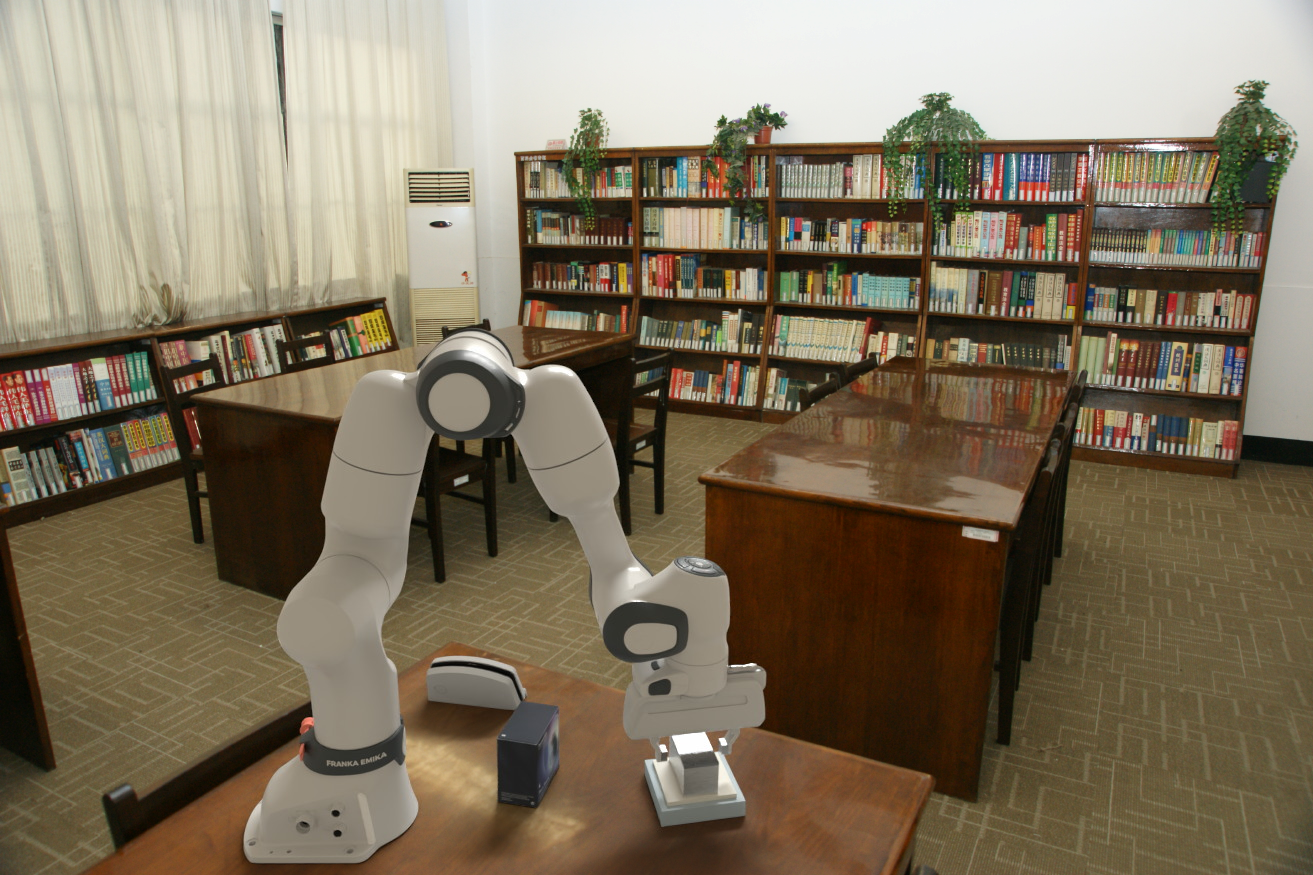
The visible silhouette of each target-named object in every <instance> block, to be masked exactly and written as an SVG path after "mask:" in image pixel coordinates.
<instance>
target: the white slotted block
mask: <svg viewBox="0 0 1313 875" xmlns="http://www.w3.org/2000/svg"><path fill="white" fill-rule="evenodd" d="M425 682H426V684H425V685H426V692H427V700H428V701H430V702H439V703H446V704H447V703H448V704H456V705H464V706H465V705H466V706H472V707H473V706H474V707H482V708H490V709H491V708H492V709H498V710H508V711H515V710H516V708H517V707H518V705H519V704H520V702H521V701H526V697H528V692H527V688H525V687H523V685H522V682H521V679H520V676H519V674H518V671H517V669H516V668H515V667H514V666H512V665H510V664H506V663H504V662H500V661H497V660H494V659H489V658H485V657H478V656H469V655H450V656H439V657H435V658H434V659H433V661H431V663H430V665H429V668H428V669H427V670H426V674H425Z"/></svg>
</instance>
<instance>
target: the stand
mask: <svg viewBox="0 0 1313 875" xmlns="http://www.w3.org/2000/svg"><path fill="white" fill-rule="evenodd" d="M714 753H715V755H716V757H717V759H718V762H719V777H718V794H712V795H704V796H696V797H688V798H683V796H682V793H681V791H680V788H679V785H678V783H677V780H676V777H675V775H674V772H673V769H672V767H671V764H670V762H669V756H667V761H665V762H657V761H656V758H651V759H650V758H649V759H645V760H644V774H643V775H644V777H645V781H646V782H647V786H648V790H649V792H650V795H651V798H652V801H653V803H654V804H653V805H654V807H655V810H656V813H657V817H658V820H659V824H660V826H661V827H662V828H664V827H670V826H678V825H685V824H691V823H693V824H694V823H700V822H707V821H716V820H721V819H729V818H738V817H745V816H746V804H747V803H746V802H747V801H746V799H745V797H744V794H743V792H742V790H741V788H740V786H739V784H738V782H737V779H736V778H735V776H734V773H733V772H732V769H731V767H730V765H729V763H728V761H727V758H726V757H725V755H721V754H720V752H719V750H718V751H714Z"/></svg>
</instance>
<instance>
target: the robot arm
mask: <svg viewBox="0 0 1313 875" xmlns="http://www.w3.org/2000/svg"><path fill="white" fill-rule="evenodd" d="M593 401H594V400H593V399H592V397H591V395H590V394H589V392H588V391H587V388H586V386H584V383H583V382H582V380H581V379H580V377H579V375H577V373H576V372H575V371H573V370H572V369H571V368H569V367H567V366H563V365H560V364H545V365H544V364H543V365H540V366H536V367H534V368H532V369H521V368H519V367H517V366H515V361H514V358H513V355H512V352H511V351H510V348H509V347H508V345H506V343H505V342H504V341H503V340H502V339H501V338H500V337H499V336H498V335H496V334H494V333H493V332H490V331H489V330H486V329H483V328H476V327H475V328H474V327H473V328H472V327H470V328H469V327H468V328H462V329H458V330H456V331H454V332H452V333H450V334H448V335H447V336H445V337H444V338H442V339H441V340H440V341H439V342H438V343H436V345H435V347H434V348H433V349H431V350H430V351H429V353H427V355H426V356H425V357H424V358H423V359H421V360H420V361H419V363H418V364H417V366H416V371H414V372H407V371H406V372H405V371H401V370H396V369H395V370H394V369H378V370H373V371H371V372H368V373H366V374H364V375H363V376H362V377H361V378H359V379H358V380H357V381H356V383H355V384H354V387H353V389H352V391H351V393H350V396H349V397H348V400H347V402H346V405H345V407H344V409H343V413H342V416H341V418H340V422H339V425H338V428H337V432H336V435H335V439H334V442H333V448H332V452H331V455H330V461H329V466H328V469H327V475H326V480H325V483H324V484H325V485H324V488H323V494H322V498H321V502H320V509H321V512H322V515H323V516H324V518H325V539H324V544H323V549H322V552H321V554H320V555H319V557H318V560H317V562H316V563H315V564H314V566H312V568H311V570H310V571H309V572H307V574H306V575H305V576H304V577H303V578H302V579H301V580H300V581H299V582H298V583H297V584H296V585H295V586H294V587H293V588H292V589H291V591H290V593H288V596H287V598H286V600H285V602H284V604H283V606H282V609H281V610H280V614H279V615H278V618H277V622H276V635H277V639H278V641H279V645H280V646H281V648H282V649H283V651H284V653H286V654H287V656H288V657H289V658H291V659H292V660H293V661H294V662H296V663H298V664H299V665H301V666H302V669H303V671H304V672H305V676H306V679H307V682H308V687H309V694H310V702H311V710H312V717H311V716H310V717H309V716H308V717H305V718H304V719H303V720H302V722H301V726H300V728H299V734H301V736H300V738H299V742H298V743H299V744H298V746H299V751H298V754H297V755H296V756H295V757H293V758H292V759H290V760H289V761H287V763H286V762H285V764H284V765H282V766H281V767H279V768H278V769H277V770H276V771H275V772H274V774H273V775H272V777H271V778H270V780H269V782H268V783H267V785H266V788H265V790H264V793H263V797H262V799H261V800H260V801H259V802H258V803H257V804H256V806H255V807H254V808H253V810H252V812H251V813H250V816H249V818H248V820H247V822H246V825H245V829H244V833H243V852H244V855H245V857H246V859H247V860H248V861H249V862H250V863H253V864H359V863H362V862H365V861H367V860H368V859H369V858H370V857H371V856H372V855H373V854H374V853H376V851H377V850H378V849H380V848H381V847H382V846H384V845H386V844H388V843H389V842H391V841H393V840H395V839H397V838H398V837H400V836H401V835H402V834H403V833H405V832H406V831H407V830H408V828H409V827H410V826H411V825H412V824H413V823H414V822H415V820H416V818H417V815H418V812H419V802H418V800H417V799H418V798H417V797H416V795H415V792H414V790H413V788H412V784H411V782H410V776H409V774H408V770H407V765H406V755H407V736H406V735H407V734H406V726H405V724H404V722H405V721H404V718H403V717H404V716H403V715H402V714H401V709H400V698H399V697H400V696H399V693H400V692H399V684H398V683H399V681H398V680H399V678H398V670H397V667H396V665H395V662H393V661H392V660H391V659H390V658H388V656H387V654H386V651H385V647H384V644H383V640H382V629H383V628H382V627H383V623H384V619H385V616H386V614H387V613H388V611H389V610H390V609H391V607H392V606H393V604H394V603H395V601H396V600H397V599H398V597H399V596H400V593H401V591H402V588H403V585H404V582H405V579H406V578H405V577H406V572H407V567H408V566H407V565H408V563H407V562H408V561H407V560H408V552H409V536H410V527H411V521H412V516H413V511H414V508H415V503H416V498H417V496H418V495H417V494H418V493H419V487H420V483H421V480H422V479H421V478H422V474H423V470H424V468H425V467H424V466H425V463H426V459H427V458H426V457H427V454H428V449H429V446H430V443H431V440H432V437H433V435H434V434H437V435H439V436H440V437H444V438H445V439H450V440H455V441H473V440H477V439H478V440H479V439H486V438H489V439H490V438H504V437H508V436H509V435H512V437H513V439H514V440H515V442H516V444H517V446H518V449H519V451H520V454H521V455H522V458H523V462H524V464H525V466H526V469H527V470H528V473H529V476H530V477H531V480H532V483H534V486H535V487H536V489H537V490H538V493H539V494H540V496H541V498H542V499H543V501H544V502H545V504H546V505H547V506H548V508H549V509H550V511H552V512H553V513H555V514H557V515H559V516H561V517H566V518H567V519H568V520H569V522H570V523H571V525H572V527H573V529H574V531H575V534H576V536H577V538H578V540H579V543H580V546H581V548H582V550H583V552H584V555H585V558H586V560H587V564H588V566H589V578H588V579H589V580H588V598H589V603H590V605H591V608H592V610H593V611H594V614H595V617H596V620H597V624H598V626H599V630H600V633H601V636H602V639H603V644H604V645H605V647H606V649H607V651H608V652H609V653H610V654H611V655H612V656H613V657H615V658H616V659H617V660H619V661H622V662H625V663H629V664H630V663H631V664H632V665H631V674H632V679H633V680H632V681H630V682H629V684H628V686H627V688H626V692H625V696H624V703H623V710H622V711H623V712H622V724H623V725H622V726H623V728H624V731H625V734H626V735H627V736H628V737H629V739H631V740H632V741H637V740H646V739H649V743H650V745H651V746H652V748H653V749H654V756H655V757H654V759H656V761H657V762H665V761H667V757H669V750H668V749H667V746H666V744H660V742H661V738H664V737H669V736H674V735H684V734H693V733H702V732H705V733H711V732H720V731H726V734H725V735H724V737H721V738H718V746H717V747H718V751H719V752H720V754H721V755H724V756H727V755H731V754H732V750H733V744H734V743H735V742H736V740H737V739H738V737H739V736H740V734H741V729H745V728H756V727H757V728H758V727H760V726H761V725H762V724H763V723H764V721H765V720H766V706H765V696H764V691H763V690H764V689H765V688H766V685H767V671H766V670H765V669H764V668H763V667H762V666H759V665H757V663H747V664H731V665H730V664H729V645H728V642H727V632H728V629H729V627H730V621H731V620H730V619H731V618H730V616H731V606H730V602H731V600H730V586H729V580H728V576H727V574H726V573H725V571H724V570H723V569H722V568H721V567H720V566H719V565H718V564H717V563H715V562H714V561H712V560H709V559H707V558H706V557H701V556H695V555H683V556H678V557H676V558H674V559H673V560H672V562H670V564H669V565H668V566H667V567H665V568H663V569H662V570H661V571H660V572H658V573H656V574H655V575H654V573H653V571H652V570H651V569H650V568H649V566H648V565H647V564H646V563H645V562H644V561H642V559H641V558H640V557H638V556H637V555H636V554H635V553H634V552H633V551H632V550H631V547H630V545H629V542H628V540H627V538H626V534H625V533H624V530H623V527H622V524H621V522H620V519H619V516H618V514H617V512H616V508H615V501H614V499H615V498H614V497H615V496H616V495H617V493H618V490H619V487H620V476H619V470H618V465H617V464H618V463H617V460H616V455H615V452H614V448H613V445H612V442H611V439H610V436H609V434H608V432H607V429H606V427H605V425H604V424H605V423H604V422H603V419H602V418H601V415H600V413H599V411H598V409H597V406H596V405H595V403H594V402H593Z"/></svg>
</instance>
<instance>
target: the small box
mask: <svg viewBox="0 0 1313 875" xmlns="http://www.w3.org/2000/svg"><path fill="white" fill-rule="evenodd" d="M496 767H497V769H496V771H497V772H496V773H497V792H496V793H497V798H496V801H497V803H505V804H512V805H516V806H523V807H527V808H528V807H529V808H536V809H537V808H538V807H539V805H540V803H541V802H542V800H543V797H544V795H545V794H546V792H547V789H548V788H549V786H550V784H551V783H552V781H553V779H554V776H555V775H556V774H557V771H558V770H559V767H560V706H559V705H554V704H545V703H541V702H540V703H539V702H538V703H537V702H533V701H532V702H531V701H526V700H522V701H521V702H520V704H519V705H518V707H517V708H516V710H513V713H512V715H511V716H510V718H509V719H508V721H507V722H506V723H505V725H504V726H503V728H502V730H500V732H499V734H498V735H497V737H496Z"/></svg>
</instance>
